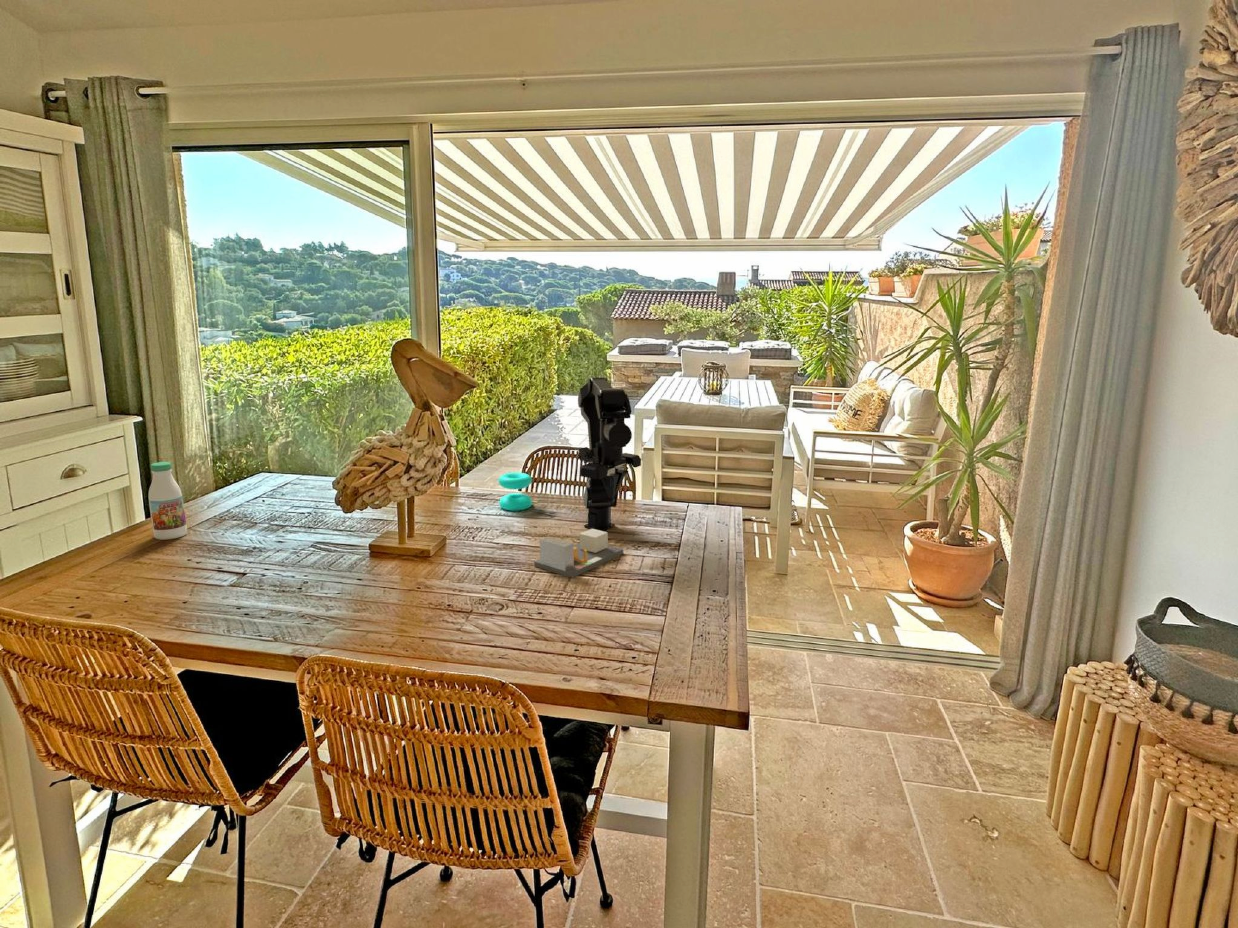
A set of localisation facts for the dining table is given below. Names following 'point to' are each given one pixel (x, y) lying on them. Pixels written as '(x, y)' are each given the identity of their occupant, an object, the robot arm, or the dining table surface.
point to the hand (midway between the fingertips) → (611, 498)
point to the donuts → (515, 500)
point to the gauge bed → (590, 555)
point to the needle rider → (579, 558)
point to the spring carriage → (593, 540)
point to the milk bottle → (166, 504)
